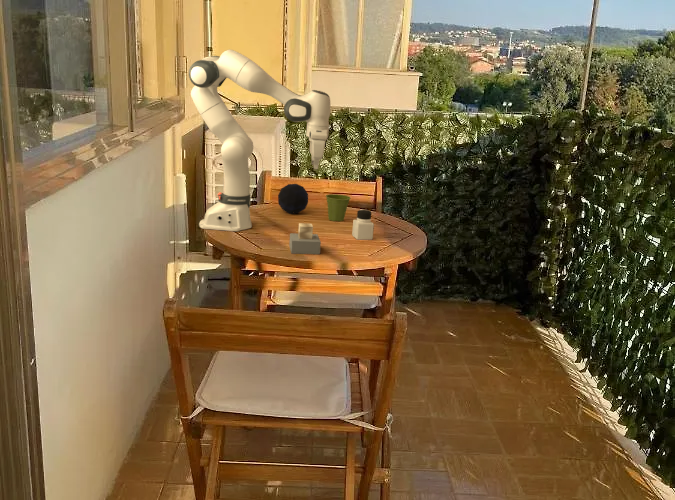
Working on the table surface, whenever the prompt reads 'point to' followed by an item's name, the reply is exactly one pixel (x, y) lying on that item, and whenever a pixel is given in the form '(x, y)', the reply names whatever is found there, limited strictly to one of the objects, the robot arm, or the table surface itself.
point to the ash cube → (305, 231)
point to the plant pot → (337, 206)
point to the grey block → (304, 244)
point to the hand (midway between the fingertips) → (314, 166)
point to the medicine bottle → (363, 226)
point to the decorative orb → (293, 198)
